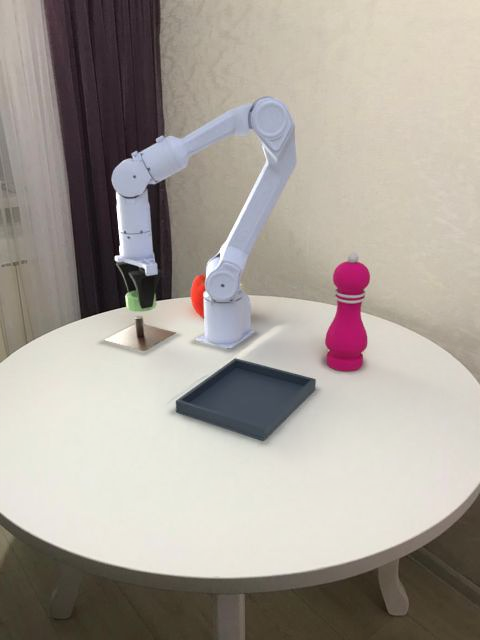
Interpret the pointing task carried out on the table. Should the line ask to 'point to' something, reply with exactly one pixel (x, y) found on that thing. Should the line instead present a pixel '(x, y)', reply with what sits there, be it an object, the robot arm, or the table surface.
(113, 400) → the table surface
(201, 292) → the tomato
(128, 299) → the ring
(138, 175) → the robot arm
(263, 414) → the tray
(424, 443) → the table surface
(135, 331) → the stand
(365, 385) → the table surface
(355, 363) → the pepper mill
